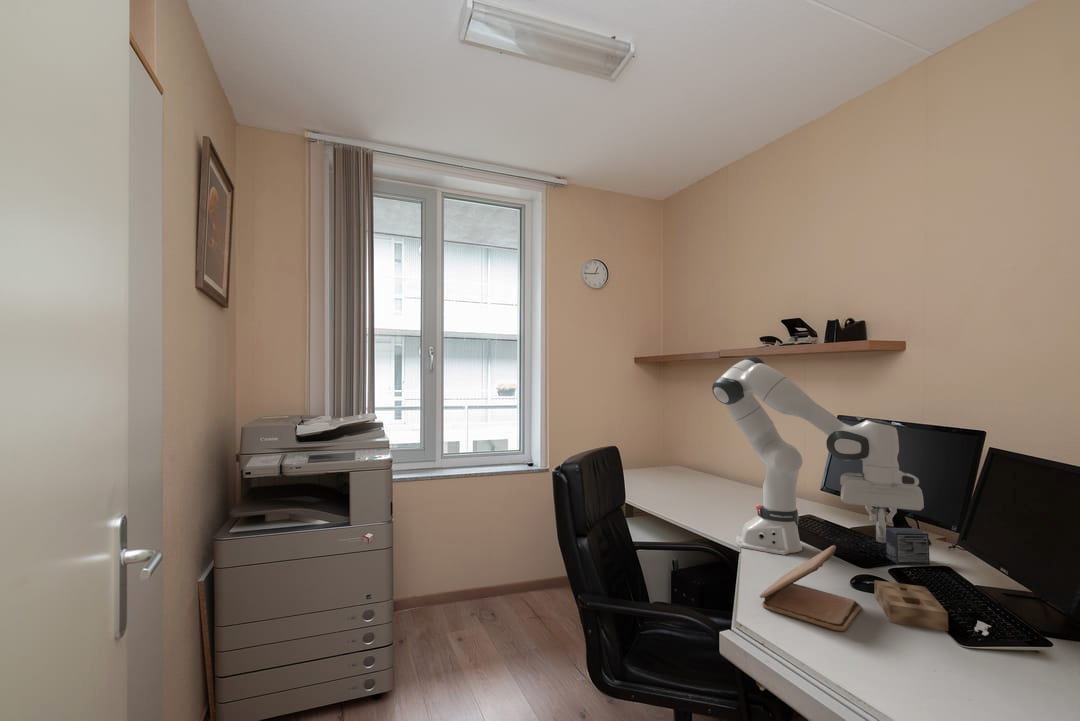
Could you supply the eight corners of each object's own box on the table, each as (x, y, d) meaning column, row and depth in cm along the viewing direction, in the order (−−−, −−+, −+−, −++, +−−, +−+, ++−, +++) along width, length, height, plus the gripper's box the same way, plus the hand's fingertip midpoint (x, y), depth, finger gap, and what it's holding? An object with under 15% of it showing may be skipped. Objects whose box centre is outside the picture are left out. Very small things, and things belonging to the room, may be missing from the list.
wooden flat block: (890, 622, 126) (889, 604, 126) (874, 595, 140) (874, 580, 141) (948, 631, 121) (947, 612, 121) (925, 603, 136) (925, 586, 136)
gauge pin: (877, 542, 144) (877, 504, 144) (875, 539, 146) (874, 502, 146) (887, 543, 143) (886, 505, 143) (884, 540, 145) (884, 503, 145)
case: (783, 584, 149) (781, 531, 149) (864, 607, 134) (862, 548, 134) (756, 608, 135) (754, 549, 135) (843, 636, 120) (841, 570, 120)
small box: (917, 557, 169) (917, 527, 169) (931, 565, 163) (930, 533, 163) (885, 557, 170) (884, 526, 170) (897, 564, 164) (896, 532, 164)
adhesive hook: (973, 632, 121) (973, 620, 121) (979, 630, 122) (978, 617, 122) (988, 638, 118) (988, 625, 118) (994, 636, 119) (994, 623, 119)
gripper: (842, 473, 146) (842, 520, 146) (925, 479, 138) (926, 529, 138) (838, 469, 152) (838, 514, 151) (917, 475, 144) (918, 522, 144)
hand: (880, 521), depth 145 cm, fingers closed on gauge pin, 2 cm apart
